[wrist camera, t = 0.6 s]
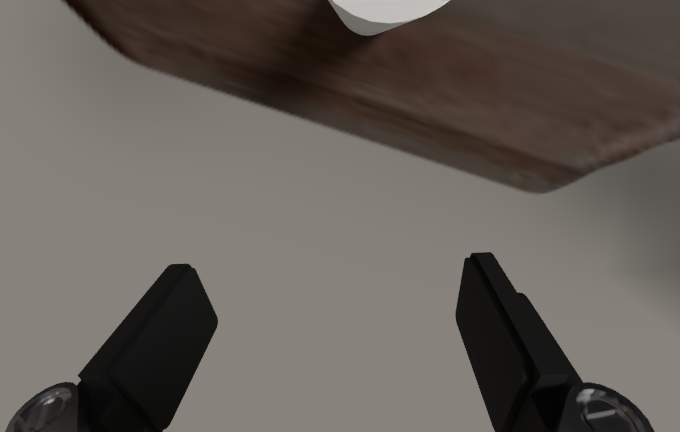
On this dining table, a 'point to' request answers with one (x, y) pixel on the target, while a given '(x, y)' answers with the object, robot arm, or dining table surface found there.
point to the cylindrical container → (381, 13)
